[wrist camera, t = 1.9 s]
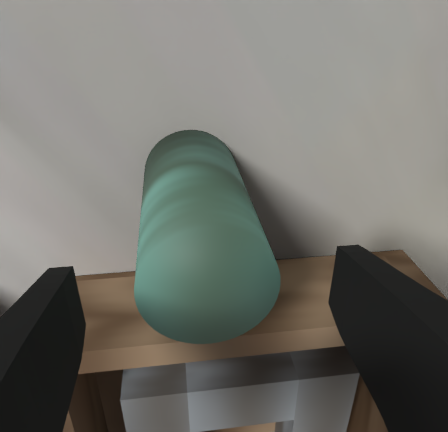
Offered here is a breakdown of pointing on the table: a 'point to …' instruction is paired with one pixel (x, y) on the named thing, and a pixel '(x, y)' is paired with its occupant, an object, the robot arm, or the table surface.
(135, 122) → the table surface
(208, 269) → the peg
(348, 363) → the box
